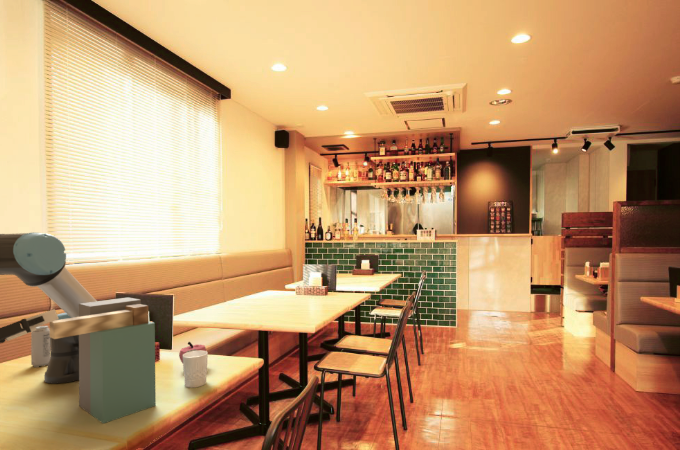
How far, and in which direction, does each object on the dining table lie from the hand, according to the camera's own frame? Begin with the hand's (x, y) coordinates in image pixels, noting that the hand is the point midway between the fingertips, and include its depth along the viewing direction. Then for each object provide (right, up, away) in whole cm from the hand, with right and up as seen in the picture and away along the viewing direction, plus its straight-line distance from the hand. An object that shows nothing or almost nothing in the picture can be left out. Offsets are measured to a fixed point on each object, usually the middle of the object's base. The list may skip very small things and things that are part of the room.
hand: (44, 320), depth 105 cm
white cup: (+29, -28, +29) cm, 50 cm away
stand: (+12, -28, +13) cm, 33 cm away
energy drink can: (-41, -31, +53) cm, 74 cm away
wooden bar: (+11, -4, +6) cm, 13 cm away
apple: (+23, -29, +44) cm, 58 cm away
